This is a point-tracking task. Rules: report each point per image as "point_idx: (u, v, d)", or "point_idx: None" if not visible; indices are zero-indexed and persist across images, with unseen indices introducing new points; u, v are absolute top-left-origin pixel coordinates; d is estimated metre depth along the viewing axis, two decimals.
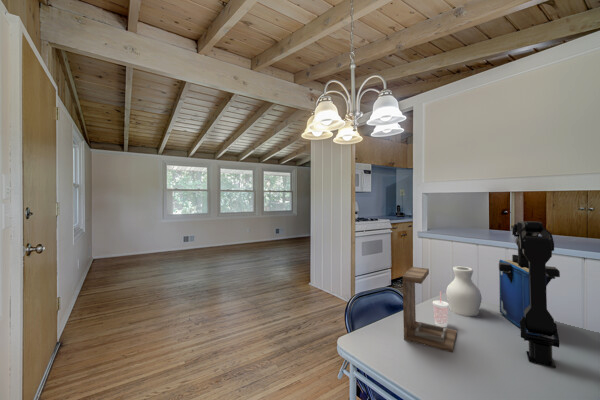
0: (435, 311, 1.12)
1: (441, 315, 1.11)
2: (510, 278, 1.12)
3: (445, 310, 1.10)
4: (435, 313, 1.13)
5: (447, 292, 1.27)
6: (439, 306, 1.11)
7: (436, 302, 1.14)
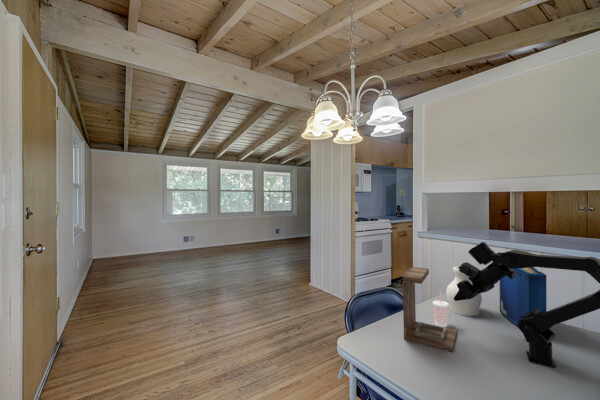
0: (435, 311, 1.12)
1: (441, 315, 1.11)
2: None
3: (445, 310, 1.10)
4: (435, 313, 1.13)
5: (447, 292, 1.27)
6: (439, 306, 1.11)
7: (436, 302, 1.14)
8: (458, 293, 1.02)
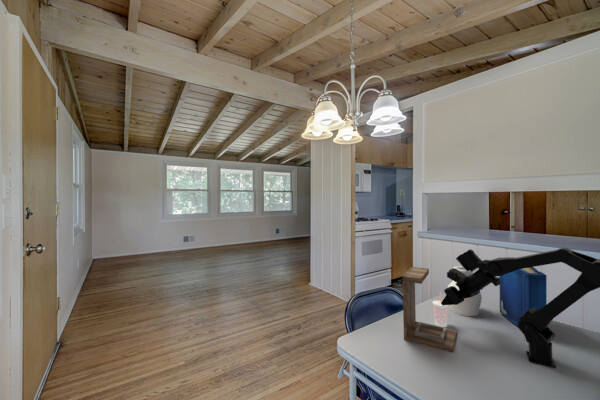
0: (435, 311, 1.12)
1: (441, 315, 1.11)
2: None
3: (445, 310, 1.10)
4: (435, 313, 1.13)
5: None
6: (439, 306, 1.11)
7: (436, 302, 1.14)
8: (445, 298, 1.05)
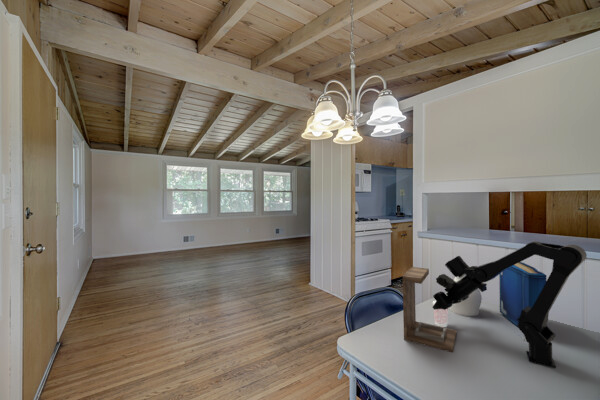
0: (435, 311, 1.12)
1: (441, 315, 1.11)
2: None
3: (445, 310, 1.10)
4: (435, 313, 1.13)
5: (447, 292, 1.27)
6: None
7: None
8: (436, 302, 1.10)
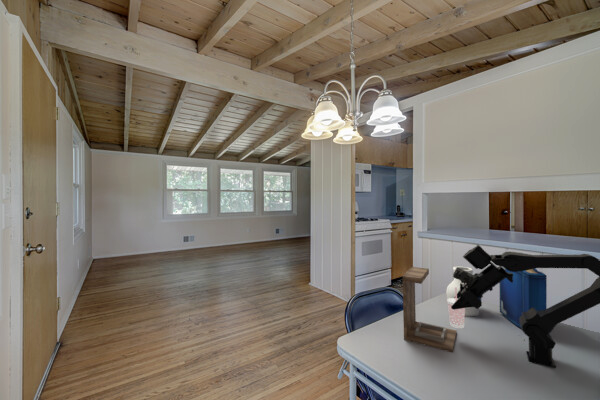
0: (453, 311, 0.97)
1: (460, 315, 0.96)
2: None
3: (464, 308, 0.97)
4: (453, 314, 0.98)
5: (447, 292, 1.27)
6: None
7: (451, 300, 0.99)
8: (458, 301, 0.95)
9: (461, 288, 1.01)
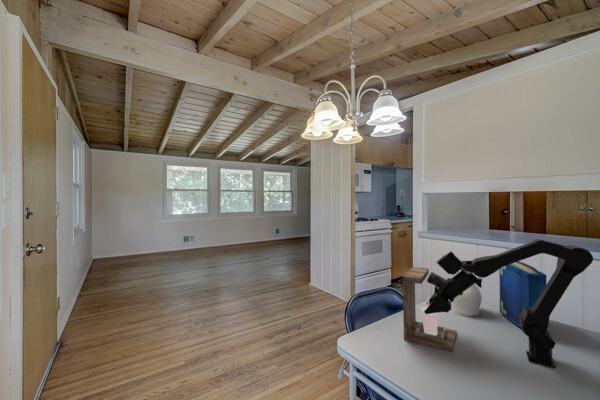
0: (426, 320, 1.02)
1: (433, 323, 1.01)
2: None
3: (436, 317, 1.02)
4: (426, 322, 1.02)
5: None
6: (431, 313, 1.01)
7: (424, 309, 1.04)
8: (431, 306, 0.98)
9: (435, 291, 1.07)
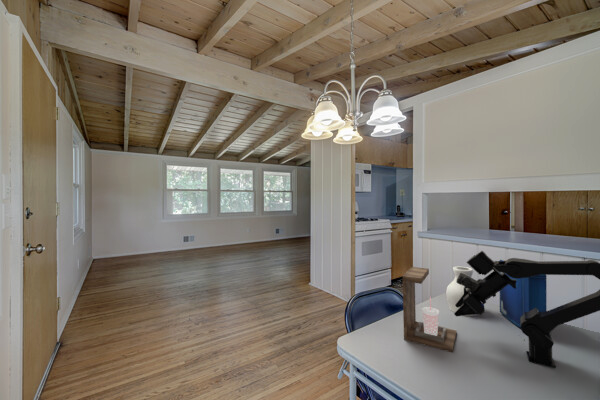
0: (427, 320, 1.02)
1: (433, 324, 1.01)
2: None
3: (437, 317, 1.01)
4: (426, 322, 1.02)
5: (447, 292, 1.27)
6: (432, 314, 1.01)
7: (425, 310, 1.04)
8: (461, 308, 0.94)
9: (465, 292, 1.03)
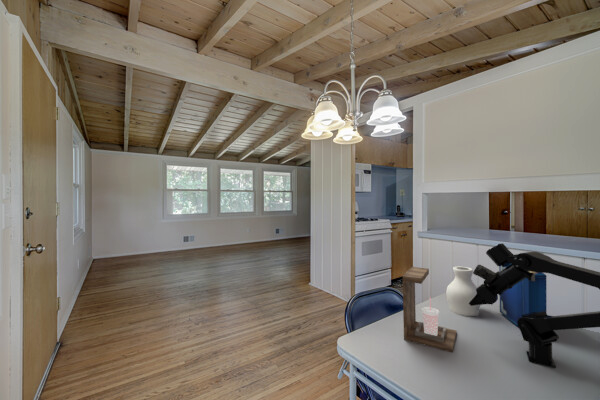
0: (426, 320, 1.02)
1: (433, 324, 1.01)
2: None
3: (437, 318, 1.01)
4: (426, 322, 1.02)
5: (447, 292, 1.27)
6: (432, 314, 1.01)
7: (425, 310, 1.04)
8: (475, 298, 0.97)
9: None
